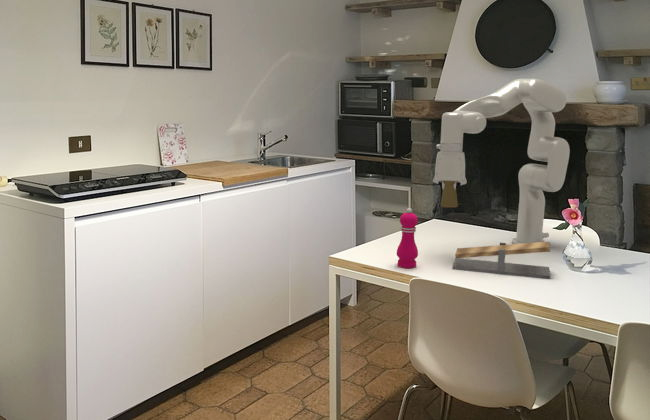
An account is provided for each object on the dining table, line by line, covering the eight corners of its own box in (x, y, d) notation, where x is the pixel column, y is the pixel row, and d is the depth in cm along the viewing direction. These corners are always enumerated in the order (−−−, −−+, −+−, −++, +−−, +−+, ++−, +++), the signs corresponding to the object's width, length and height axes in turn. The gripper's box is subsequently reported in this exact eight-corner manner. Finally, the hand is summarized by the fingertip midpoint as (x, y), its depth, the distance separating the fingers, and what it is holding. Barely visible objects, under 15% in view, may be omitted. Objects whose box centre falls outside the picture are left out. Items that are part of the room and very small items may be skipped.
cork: (457, 207, 214) (458, 176, 212) (440, 207, 216) (440, 176, 214) (457, 204, 220) (458, 174, 218) (440, 204, 221) (441, 173, 219)
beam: (455, 260, 208) (454, 254, 207) (458, 254, 215) (457, 248, 215) (550, 253, 198) (549, 247, 198) (549, 247, 206) (548, 241, 205)
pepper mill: (402, 261, 215) (404, 205, 211) (421, 265, 211) (423, 207, 207) (392, 266, 209) (394, 208, 205) (411, 270, 205) (414, 211, 201)
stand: (452, 269, 207) (453, 245, 205) (455, 260, 217) (456, 238, 216) (550, 278, 198) (552, 254, 196) (548, 269, 208) (550, 246, 207)
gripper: (427, 148, 213) (424, 200, 217) (473, 150, 208) (470, 203, 212) (430, 146, 220) (428, 197, 224) (475, 148, 215) (472, 200, 219)
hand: (448, 200), depth 218 cm, fingers closed on cork, 1 cm apart
